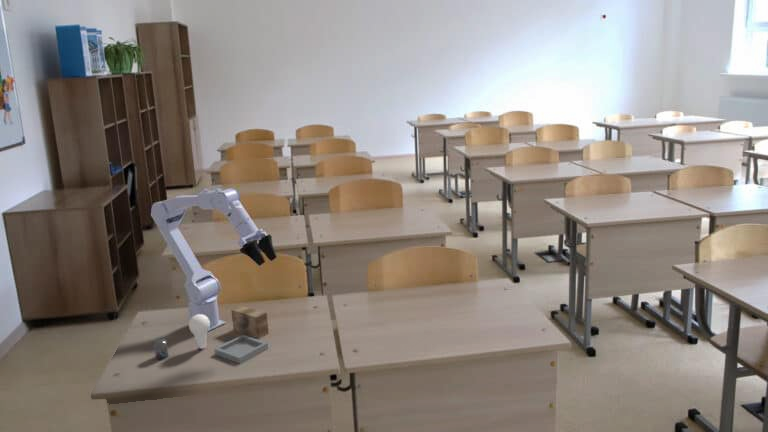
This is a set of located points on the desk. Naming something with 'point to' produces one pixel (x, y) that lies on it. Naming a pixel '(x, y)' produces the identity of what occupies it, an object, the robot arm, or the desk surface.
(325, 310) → the desk surface
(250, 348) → the tray
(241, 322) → the lamp housing
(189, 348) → the desk surface
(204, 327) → the lightbulb
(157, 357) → the fuse
